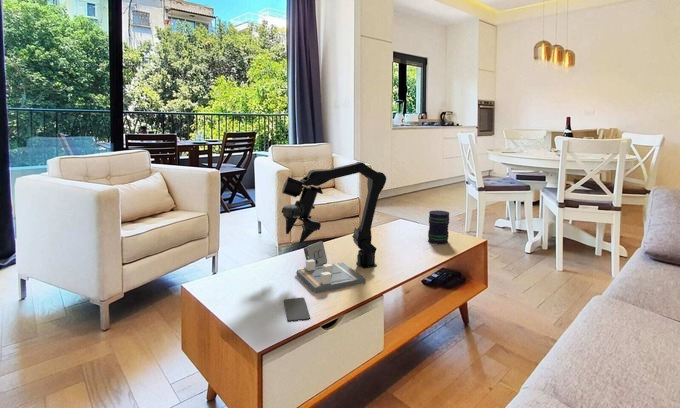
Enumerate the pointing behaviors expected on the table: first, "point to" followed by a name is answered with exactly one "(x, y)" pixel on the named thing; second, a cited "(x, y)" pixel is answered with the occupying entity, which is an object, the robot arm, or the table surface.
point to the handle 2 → (326, 278)
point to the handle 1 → (310, 265)
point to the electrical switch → (316, 253)
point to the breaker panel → (339, 278)
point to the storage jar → (438, 227)
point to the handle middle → (328, 268)
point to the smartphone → (296, 309)
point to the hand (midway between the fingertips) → (293, 238)
